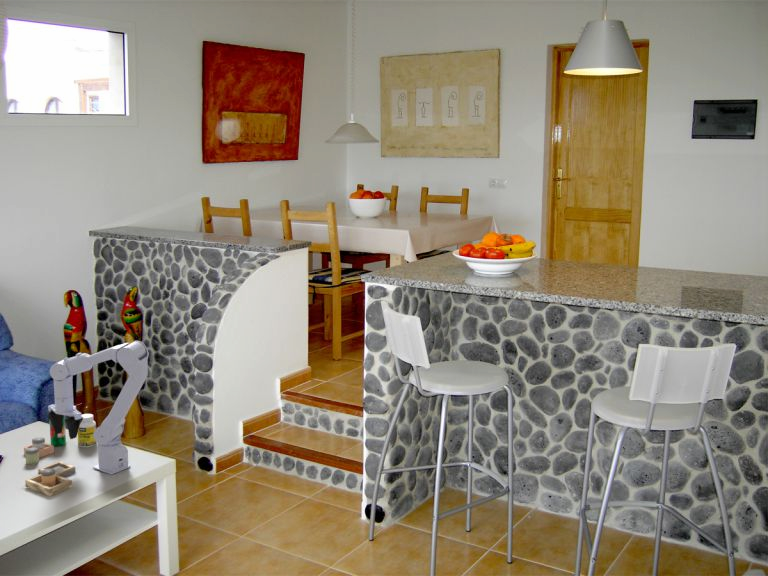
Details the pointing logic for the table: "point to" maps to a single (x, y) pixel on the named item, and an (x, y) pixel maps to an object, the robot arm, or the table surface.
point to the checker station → (60, 472)
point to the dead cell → (38, 443)
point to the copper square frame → (43, 450)
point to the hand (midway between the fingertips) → (65, 435)
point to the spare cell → (32, 456)
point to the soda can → (58, 435)
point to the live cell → (48, 477)
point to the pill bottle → (86, 431)
